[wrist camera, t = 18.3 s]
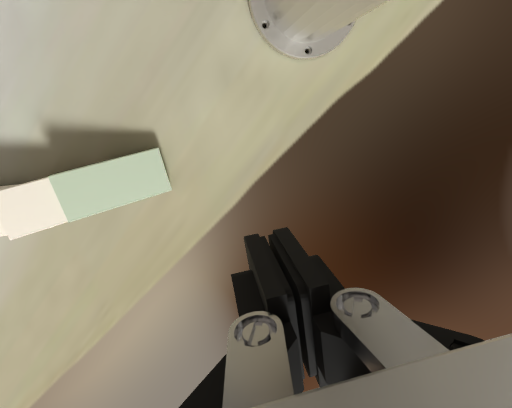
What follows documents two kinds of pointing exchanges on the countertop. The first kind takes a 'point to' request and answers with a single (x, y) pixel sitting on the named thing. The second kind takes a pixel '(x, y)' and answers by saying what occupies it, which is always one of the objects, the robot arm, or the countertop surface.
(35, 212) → the domino
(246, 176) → the countertop surface
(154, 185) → the domino
